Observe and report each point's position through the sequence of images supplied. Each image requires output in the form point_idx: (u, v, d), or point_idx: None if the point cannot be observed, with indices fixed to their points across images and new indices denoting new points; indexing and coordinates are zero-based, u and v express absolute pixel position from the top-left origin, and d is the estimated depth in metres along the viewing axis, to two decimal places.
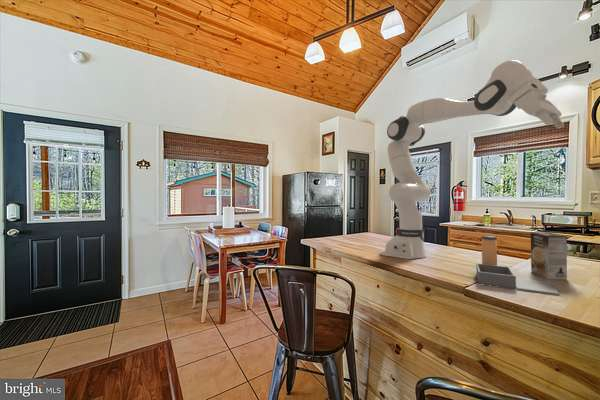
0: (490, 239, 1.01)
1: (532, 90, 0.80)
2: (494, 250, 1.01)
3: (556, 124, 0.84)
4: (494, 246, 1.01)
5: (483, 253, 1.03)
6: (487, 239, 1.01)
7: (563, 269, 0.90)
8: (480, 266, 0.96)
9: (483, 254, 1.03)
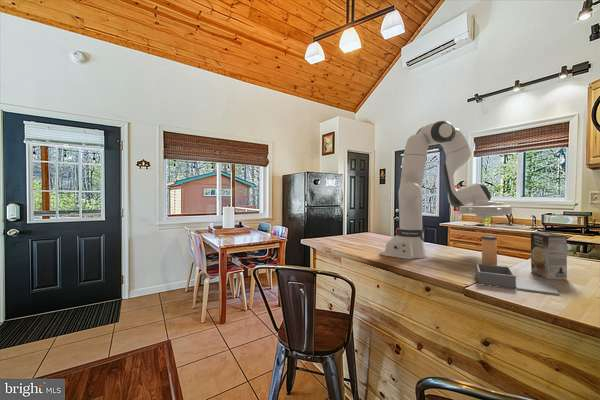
0: (490, 239, 1.01)
1: None
2: (494, 250, 1.01)
3: (474, 209, 1.16)
4: (494, 246, 1.01)
5: (483, 253, 1.03)
6: (487, 239, 1.01)
7: (563, 269, 0.90)
8: (480, 266, 0.96)
9: (483, 254, 1.03)
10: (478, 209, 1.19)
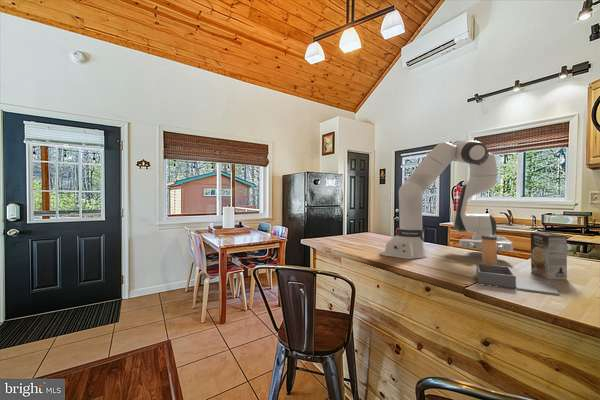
0: (490, 239, 1.01)
1: None
2: (494, 250, 1.01)
3: None
4: (494, 246, 1.01)
5: (483, 253, 1.03)
6: (487, 239, 1.01)
7: (563, 269, 0.90)
8: (480, 266, 0.96)
9: (483, 254, 1.03)
10: (479, 244, 1.18)
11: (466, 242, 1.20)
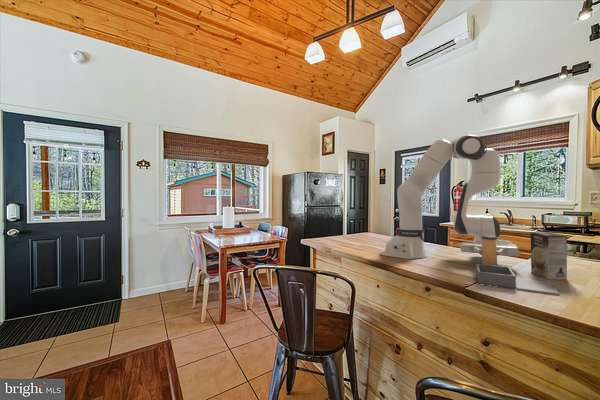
0: (490, 239, 1.01)
1: None
2: (494, 250, 1.01)
3: (481, 250, 1.05)
4: (494, 246, 1.01)
5: (483, 253, 1.03)
6: (487, 239, 1.01)
7: (563, 269, 0.90)
8: (480, 266, 0.96)
9: (483, 254, 1.03)
10: (481, 248, 1.08)
11: (467, 246, 1.10)
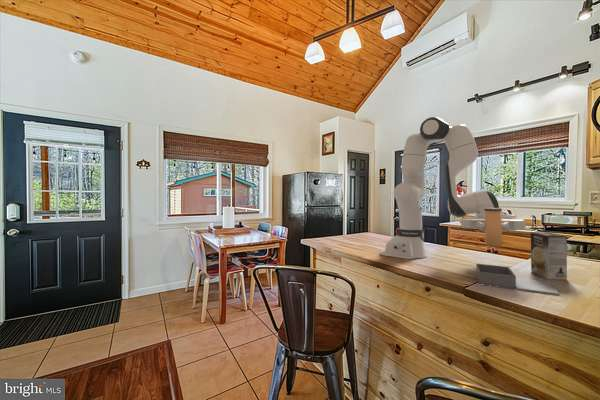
0: (494, 210, 0.91)
1: None
2: (499, 223, 0.90)
3: (484, 224, 0.95)
4: (499, 218, 0.90)
5: (486, 227, 0.93)
6: (491, 211, 0.91)
7: (563, 269, 0.90)
8: (480, 266, 0.96)
9: (486, 228, 0.93)
10: (484, 223, 0.98)
11: (468, 221, 1.00)
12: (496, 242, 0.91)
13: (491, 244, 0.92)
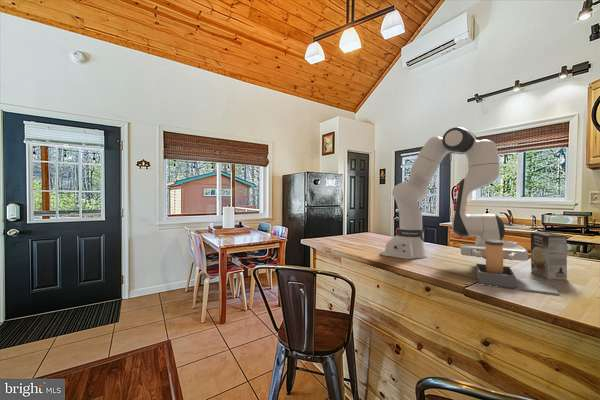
0: (496, 245, 0.87)
1: None
2: (500, 257, 0.87)
3: None
4: (500, 253, 0.87)
5: (487, 261, 0.90)
6: (492, 244, 0.88)
7: (563, 269, 0.90)
8: (480, 266, 0.96)
9: (487, 262, 0.90)
10: (484, 251, 0.95)
11: (468, 249, 0.97)
12: None
13: None
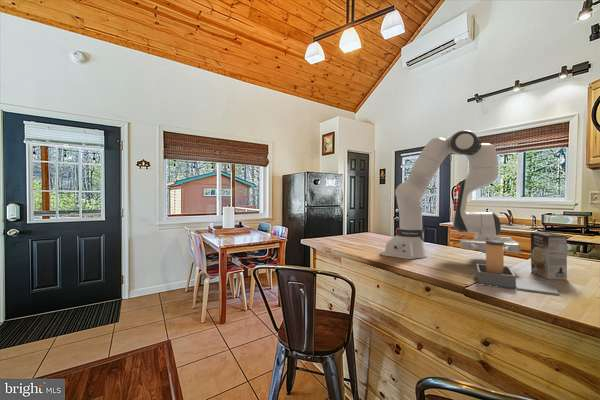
0: (496, 245, 0.87)
1: None
2: (501, 257, 0.87)
3: (477, 247, 1.03)
4: (501, 253, 0.87)
5: (488, 261, 0.89)
6: (492, 244, 0.88)
7: (563, 269, 0.90)
8: (480, 266, 0.96)
9: (488, 262, 0.89)
10: (481, 245, 1.05)
11: (467, 243, 1.07)
12: None
13: None
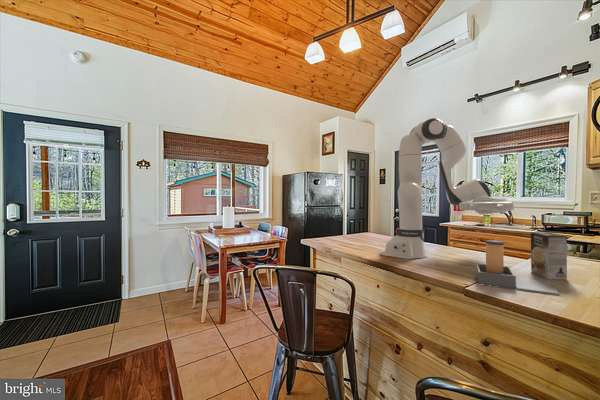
0: (496, 244, 0.87)
1: (505, 211, 1.15)
2: (501, 257, 0.87)
3: (475, 206, 1.13)
4: (501, 252, 0.87)
5: (488, 260, 0.90)
6: (493, 244, 0.88)
7: (563, 269, 0.90)
8: (480, 266, 0.96)
9: (488, 261, 0.90)
10: (479, 205, 1.15)
11: (466, 204, 1.17)
12: None
13: None
